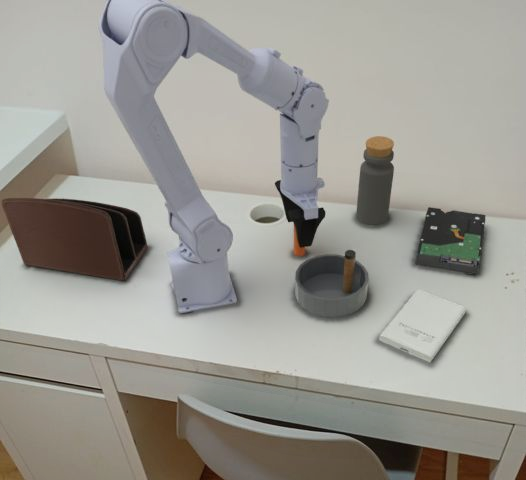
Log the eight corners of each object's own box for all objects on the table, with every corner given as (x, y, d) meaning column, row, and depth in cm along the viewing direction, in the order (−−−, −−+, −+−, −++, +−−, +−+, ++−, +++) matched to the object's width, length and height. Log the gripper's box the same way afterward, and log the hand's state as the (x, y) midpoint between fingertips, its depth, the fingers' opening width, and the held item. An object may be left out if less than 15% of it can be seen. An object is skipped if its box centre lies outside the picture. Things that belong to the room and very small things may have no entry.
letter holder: (125, 282, 98) (105, 210, 88) (24, 266, 103) (-6, 196, 92) (149, 248, 105) (133, 177, 95) (52, 234, 109) (27, 165, 99)
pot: (306, 325, 89) (306, 305, 86) (287, 280, 97) (287, 260, 94) (376, 311, 90) (379, 292, 87) (352, 268, 98) (354, 249, 95)
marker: (295, 258, 101) (295, 217, 95) (292, 251, 102) (291, 210, 96) (306, 256, 101) (307, 214, 95) (303, 249, 102) (304, 208, 96)
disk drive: (424, 219, 107) (414, 266, 98) (426, 206, 105) (416, 253, 96) (482, 227, 105) (478, 276, 95) (486, 213, 103) (482, 262, 93)
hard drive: (464, 315, 89) (429, 364, 82) (415, 296, 92) (378, 341, 86) (466, 307, 88) (431, 356, 81) (417, 288, 91) (379, 333, 85)
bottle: (386, 228, 106) (396, 151, 95) (354, 226, 107) (361, 149, 96) (388, 210, 110) (398, 135, 99) (357, 208, 111) (363, 133, 100)
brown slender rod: (344, 294, 93) (346, 256, 88) (340, 288, 94) (343, 250, 89) (353, 292, 93) (357, 255, 88) (350, 286, 94) (353, 248, 89)
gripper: (339, 177, 84) (334, 253, 94) (311, 133, 94) (310, 206, 104) (292, 184, 83) (292, 260, 93) (269, 140, 93) (271, 212, 103)
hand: (299, 232), depth 98 cm, fingers open, 7 cm apart
